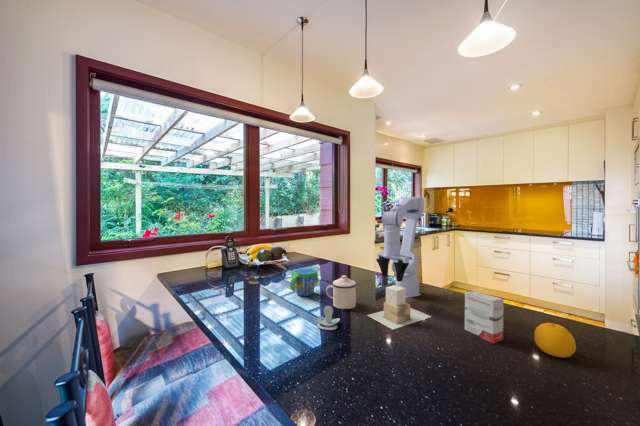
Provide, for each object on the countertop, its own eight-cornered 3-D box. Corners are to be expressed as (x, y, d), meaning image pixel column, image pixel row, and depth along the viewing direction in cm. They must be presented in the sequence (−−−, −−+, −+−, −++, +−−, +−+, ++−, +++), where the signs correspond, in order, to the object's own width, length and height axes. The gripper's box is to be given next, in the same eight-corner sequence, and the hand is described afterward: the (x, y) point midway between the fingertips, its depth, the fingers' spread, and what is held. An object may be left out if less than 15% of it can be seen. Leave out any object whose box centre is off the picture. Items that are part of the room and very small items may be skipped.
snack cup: (310, 287, 121) (310, 266, 121) (326, 292, 113) (326, 269, 113) (283, 295, 110) (283, 272, 110) (299, 301, 103) (298, 276, 102)
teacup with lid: (359, 303, 100) (358, 274, 100) (352, 312, 92) (352, 280, 91) (330, 299, 105) (330, 271, 104) (321, 307, 96) (321, 276, 96)
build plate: (404, 306, 96) (404, 304, 96) (431, 318, 86) (431, 316, 86) (366, 316, 88) (366, 315, 88) (392, 331, 77) (392, 329, 77)
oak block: (396, 313, 89) (396, 298, 89) (410, 319, 84) (410, 304, 84) (383, 316, 86) (383, 302, 86) (397, 323, 81) (397, 308, 81)
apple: (580, 366, 60) (581, 334, 59) (536, 356, 64) (537, 326, 64) (570, 350, 66) (570, 321, 66) (531, 342, 71) (531, 315, 70)
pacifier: (337, 333, 77) (340, 323, 83) (337, 312, 77) (340, 304, 83) (314, 330, 79) (318, 321, 85) (313, 310, 79) (318, 302, 84)
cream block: (394, 299, 88) (394, 285, 88) (405, 303, 85) (405, 288, 85) (385, 302, 86) (385, 287, 86) (396, 306, 82) (396, 291, 82)
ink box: (504, 340, 72) (504, 298, 71) (493, 344, 69) (493, 301, 69) (474, 327, 79) (474, 289, 79) (463, 331, 77) (463, 292, 77)
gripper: (371, 241, 101) (371, 275, 101) (398, 245, 89) (398, 284, 89) (384, 240, 105) (384, 273, 105) (413, 244, 92) (412, 282, 92)
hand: (391, 278), depth 97 cm, fingers open, 7 cm apart
